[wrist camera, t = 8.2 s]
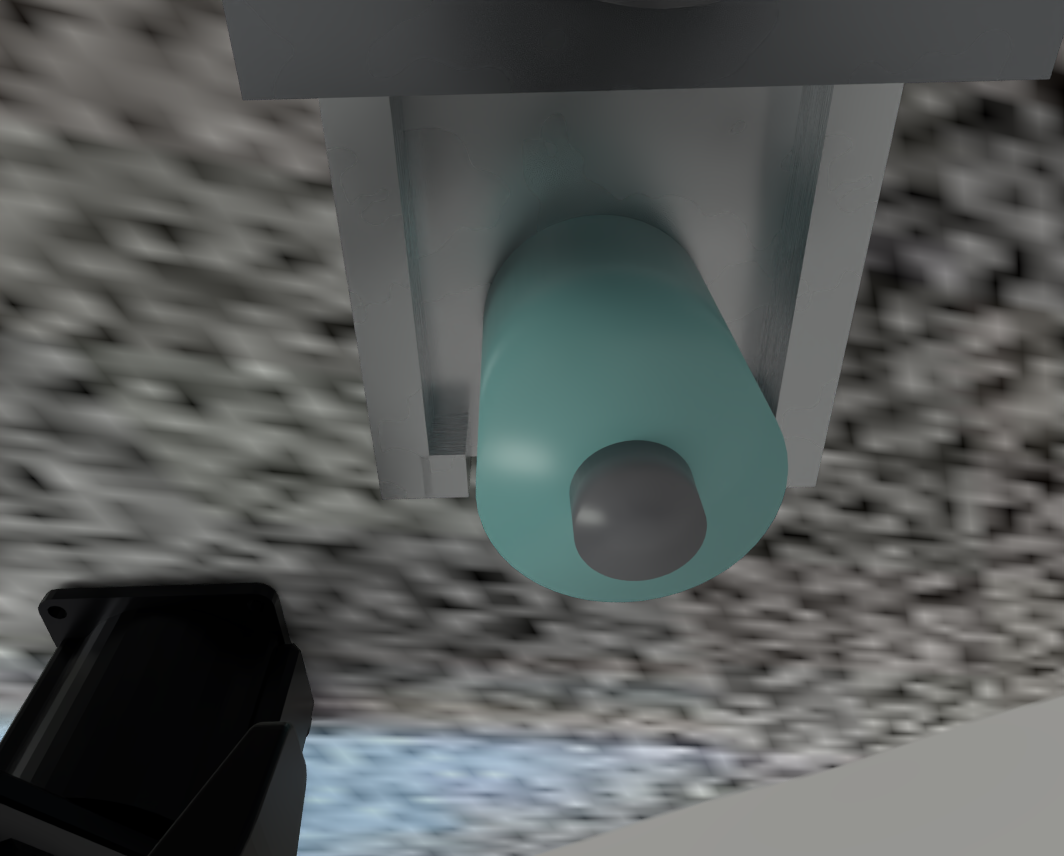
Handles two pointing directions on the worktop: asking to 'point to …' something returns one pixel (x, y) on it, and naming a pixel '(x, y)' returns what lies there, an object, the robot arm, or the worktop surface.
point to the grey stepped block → (610, 168)
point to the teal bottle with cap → (618, 418)
